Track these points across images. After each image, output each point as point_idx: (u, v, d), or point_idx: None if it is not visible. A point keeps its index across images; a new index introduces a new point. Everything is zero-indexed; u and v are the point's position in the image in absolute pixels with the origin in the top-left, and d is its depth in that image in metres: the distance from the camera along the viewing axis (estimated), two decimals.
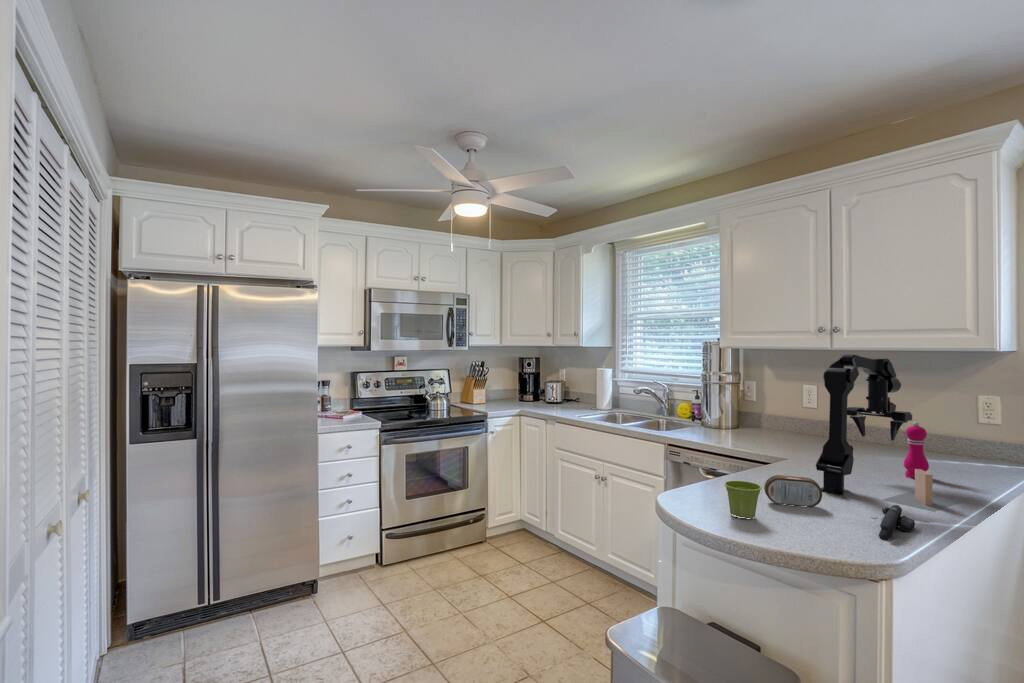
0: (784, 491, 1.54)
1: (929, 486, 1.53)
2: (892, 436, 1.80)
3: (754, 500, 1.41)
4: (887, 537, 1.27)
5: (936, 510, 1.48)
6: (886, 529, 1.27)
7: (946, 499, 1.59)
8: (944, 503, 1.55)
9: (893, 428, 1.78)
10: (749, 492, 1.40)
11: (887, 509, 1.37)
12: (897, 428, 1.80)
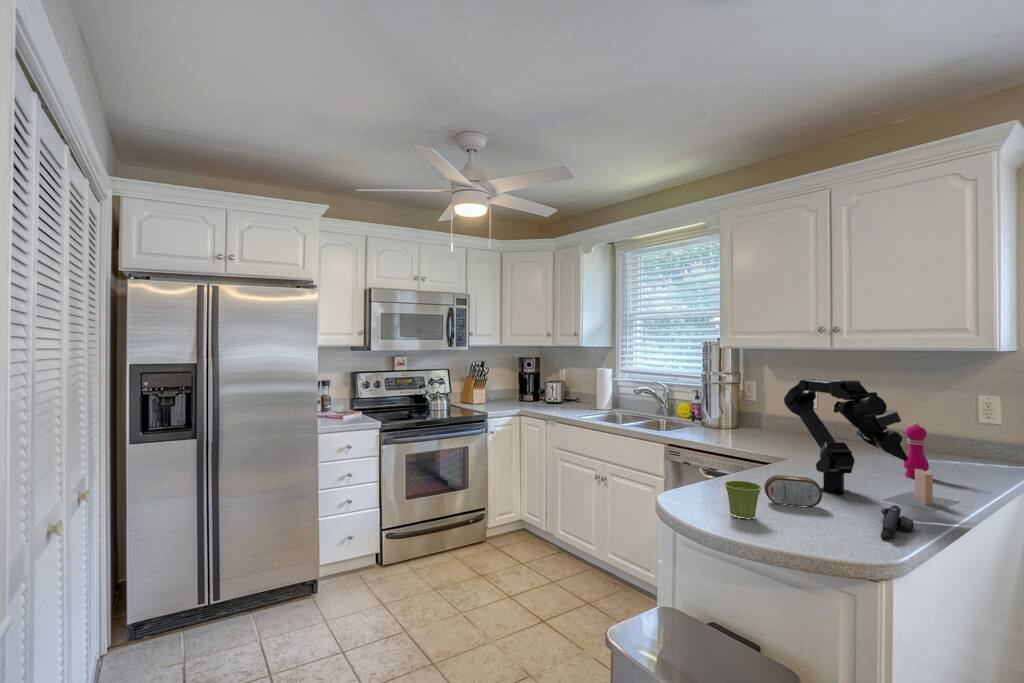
0: (784, 491, 1.54)
1: (929, 486, 1.53)
2: (900, 458, 1.54)
3: (754, 500, 1.41)
4: (889, 538, 1.26)
5: (936, 510, 1.48)
6: (888, 530, 1.26)
7: (946, 499, 1.59)
8: (944, 503, 1.55)
9: None
10: (749, 492, 1.40)
11: (886, 510, 1.37)
12: (899, 449, 1.54)
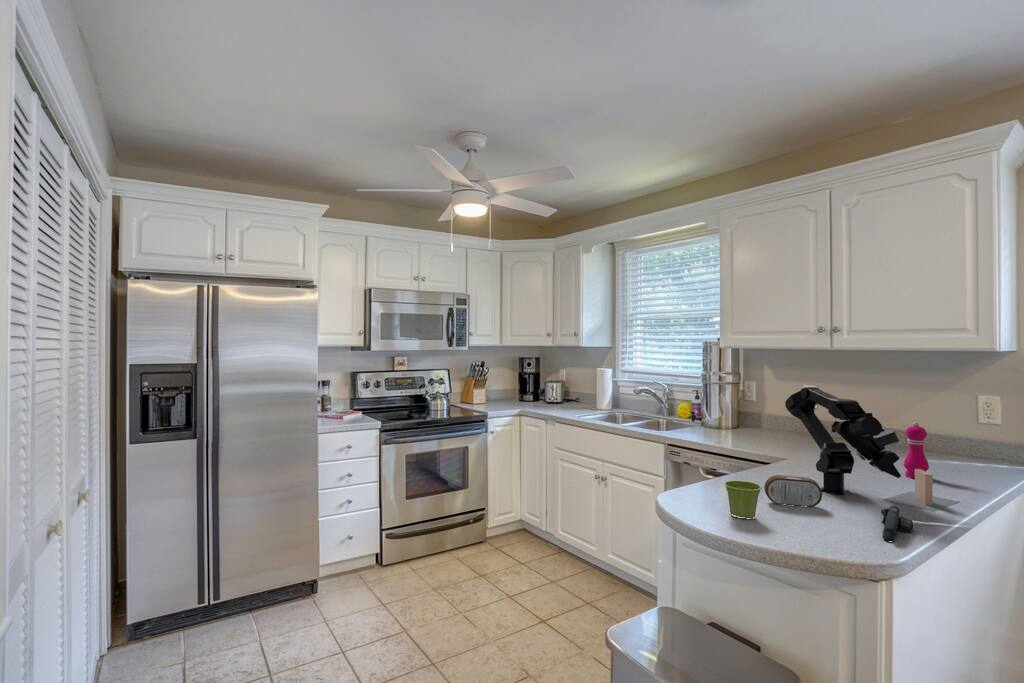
0: (784, 491, 1.54)
1: (929, 486, 1.53)
2: (893, 475, 1.58)
3: (754, 500, 1.41)
4: (891, 539, 1.26)
5: (936, 510, 1.48)
6: (891, 531, 1.25)
7: (946, 499, 1.59)
8: (944, 503, 1.55)
9: (883, 471, 1.58)
10: (749, 492, 1.40)
11: (886, 510, 1.37)
12: (891, 466, 1.58)
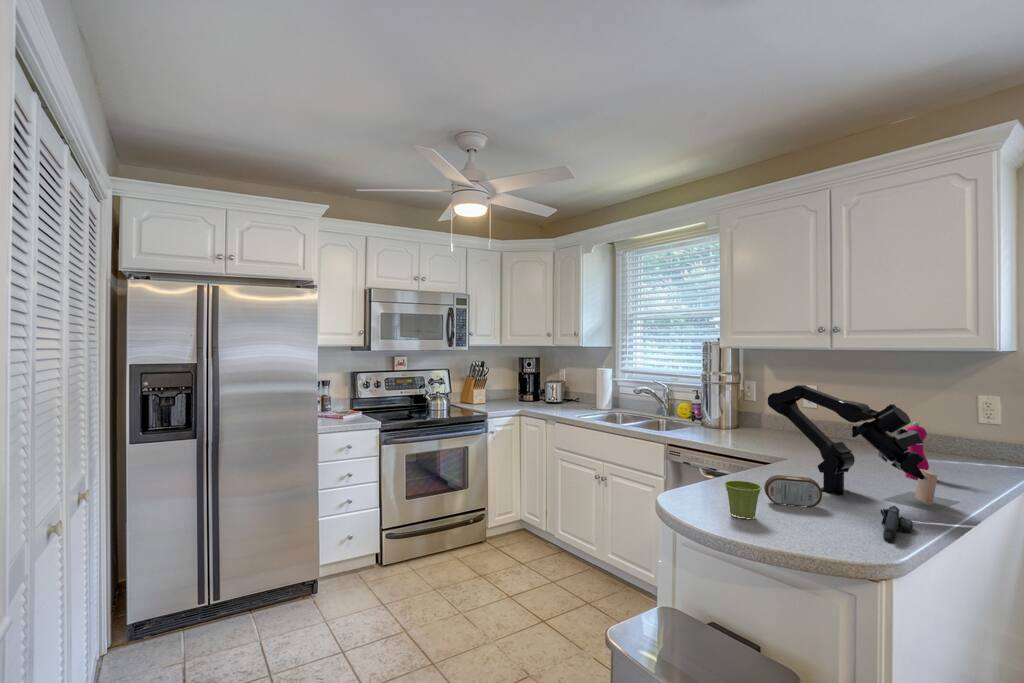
0: (784, 491, 1.54)
1: (932, 486, 1.53)
2: None
3: (754, 500, 1.41)
4: (892, 540, 1.25)
5: (936, 510, 1.48)
6: (892, 532, 1.25)
7: (946, 499, 1.59)
8: (944, 503, 1.55)
9: None
10: (749, 492, 1.40)
11: (886, 510, 1.36)
12: (914, 467, 1.56)
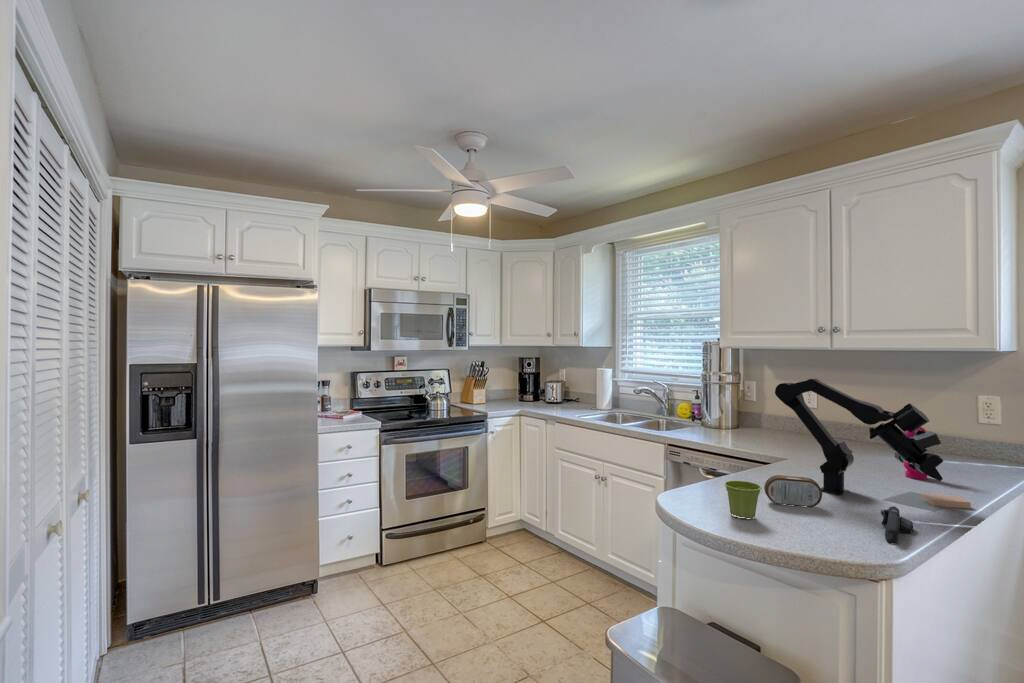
0: (784, 491, 1.54)
1: (955, 504, 1.51)
2: (934, 478, 1.55)
3: (754, 500, 1.41)
4: (895, 541, 1.25)
5: (936, 510, 1.48)
6: (894, 533, 1.24)
7: None
8: None
9: None
10: (749, 492, 1.40)
11: (886, 511, 1.36)
12: (932, 468, 1.55)
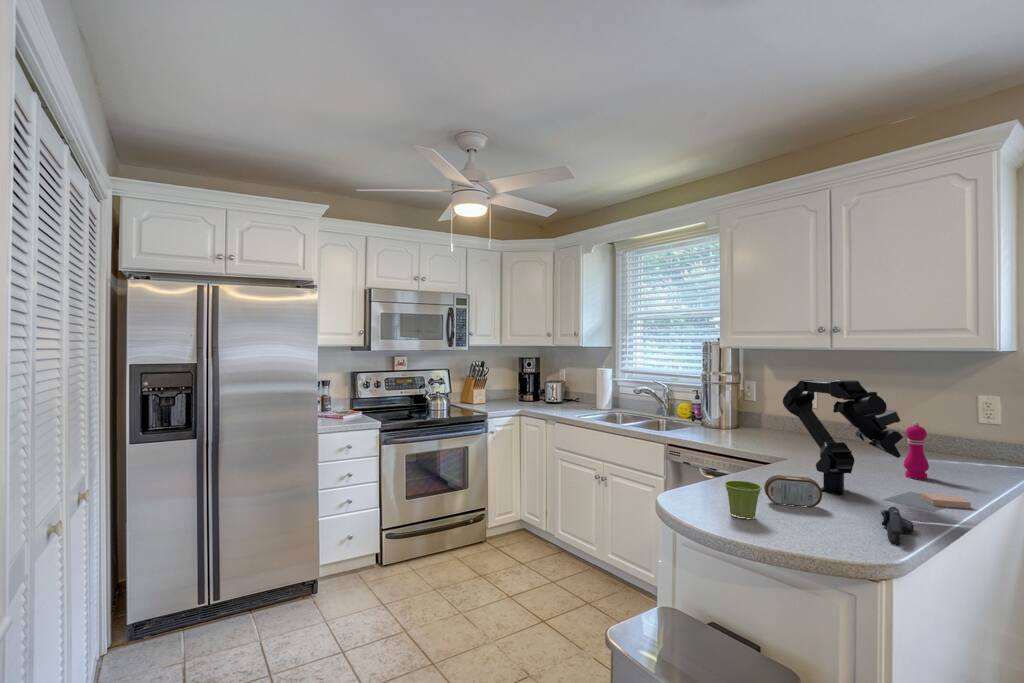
0: (784, 491, 1.54)
1: (955, 504, 1.51)
2: (893, 455, 1.59)
3: (754, 500, 1.41)
4: (898, 542, 1.24)
5: (936, 510, 1.48)
6: (898, 534, 1.23)
7: None
8: None
9: (884, 451, 1.59)
10: (749, 492, 1.40)
11: (886, 511, 1.35)
12: (891, 445, 1.58)
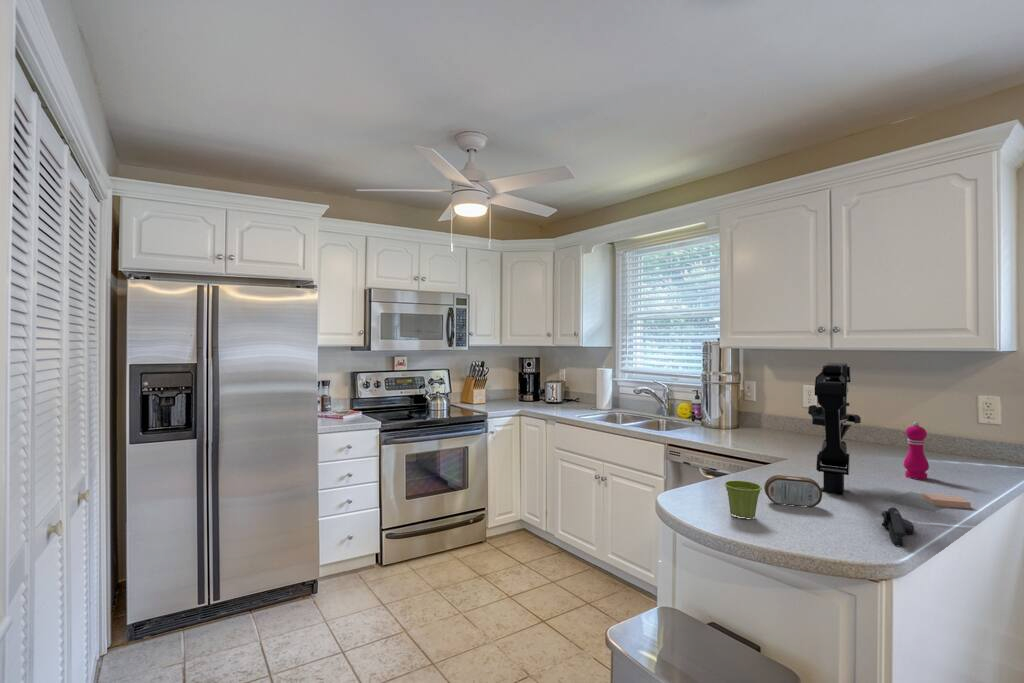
0: (784, 491, 1.54)
1: (955, 504, 1.51)
2: None
3: (755, 500, 1.41)
4: (902, 544, 1.23)
5: (936, 510, 1.48)
6: (902, 535, 1.22)
7: None
8: None
9: (845, 432, 1.80)
10: (749, 492, 1.40)
11: (887, 512, 1.35)
12: None
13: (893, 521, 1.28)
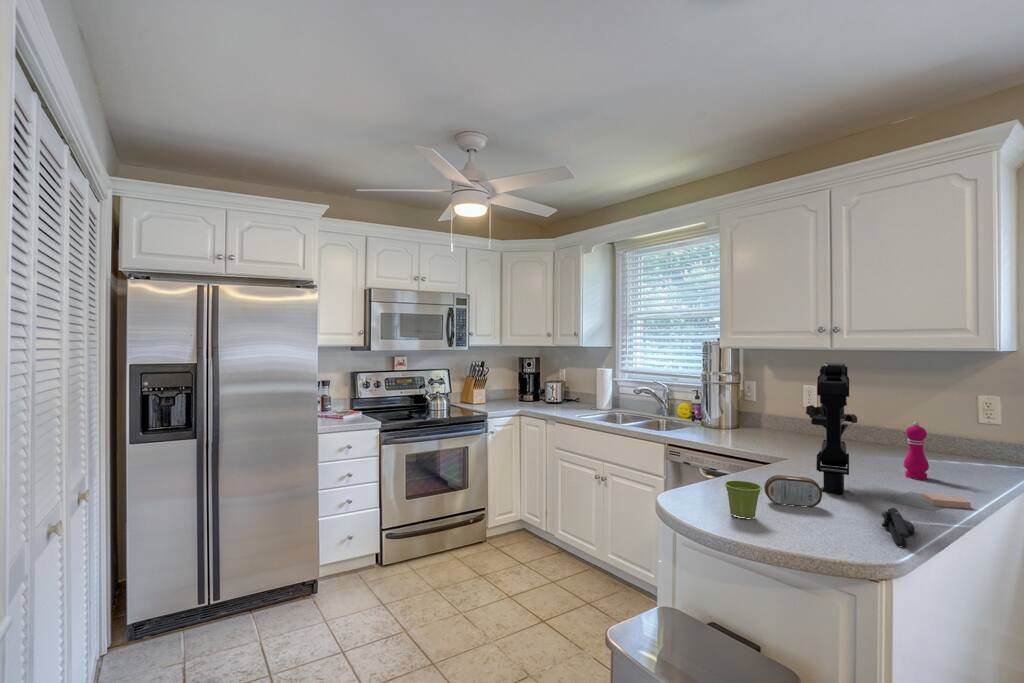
0: (784, 491, 1.54)
1: (955, 504, 1.51)
2: None
3: (755, 500, 1.41)
4: (905, 545, 1.22)
5: (936, 510, 1.48)
6: (905, 536, 1.22)
7: None
8: None
9: (843, 432, 1.80)
10: (749, 492, 1.40)
11: (887, 513, 1.34)
12: None
13: (895, 522, 1.27)
